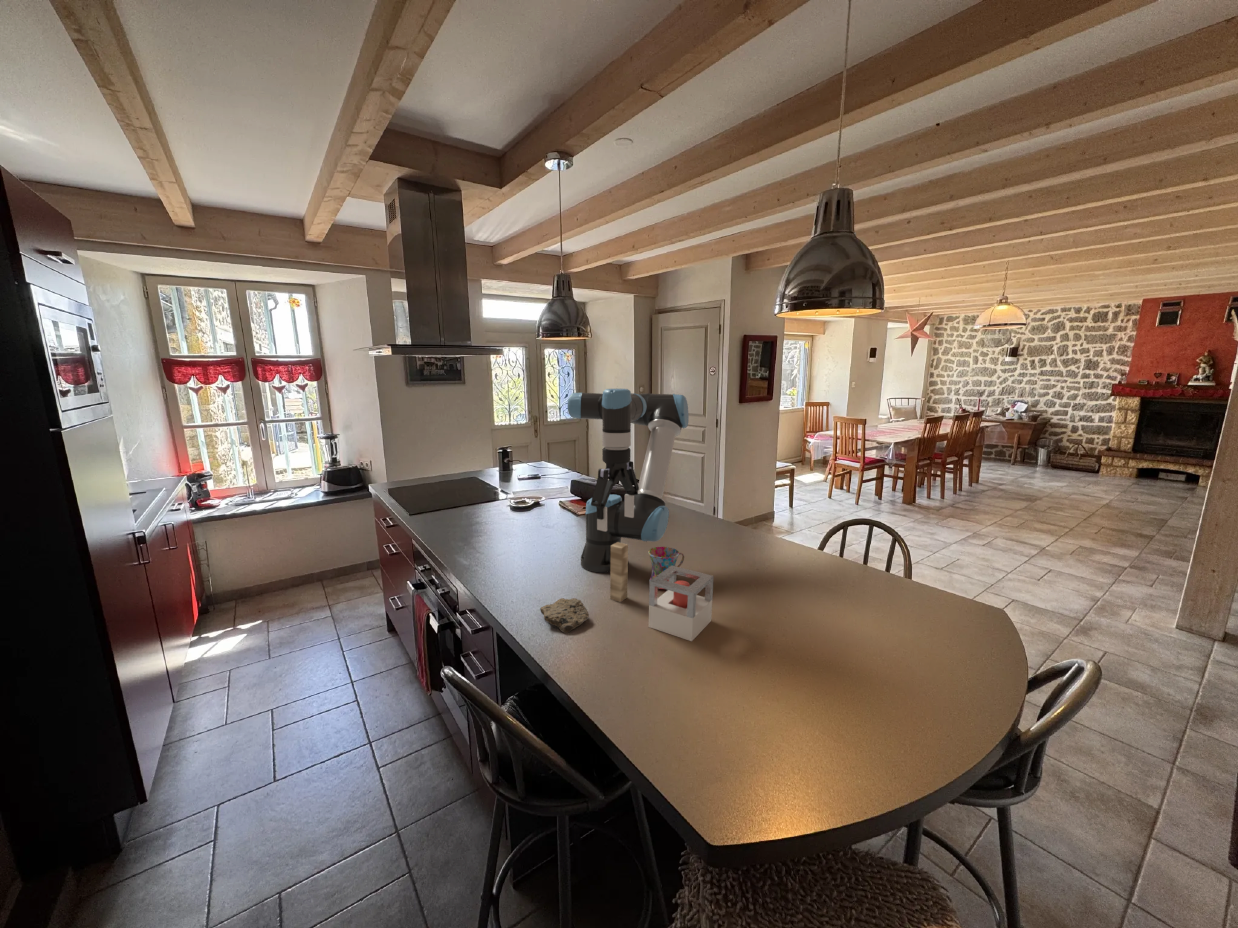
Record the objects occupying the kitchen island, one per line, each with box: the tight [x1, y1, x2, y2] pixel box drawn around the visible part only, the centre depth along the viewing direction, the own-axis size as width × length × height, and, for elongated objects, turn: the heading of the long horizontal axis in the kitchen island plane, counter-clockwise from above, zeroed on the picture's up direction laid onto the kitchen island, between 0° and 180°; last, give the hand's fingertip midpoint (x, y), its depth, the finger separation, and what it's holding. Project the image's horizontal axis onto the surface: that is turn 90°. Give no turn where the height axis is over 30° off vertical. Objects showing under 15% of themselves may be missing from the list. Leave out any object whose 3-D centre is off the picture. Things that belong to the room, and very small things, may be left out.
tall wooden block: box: [609, 542, 629, 603], centre depth 139 cm, size 4×4×16 cm
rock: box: [539, 597, 590, 634], centre depth 127 cm, size 11×12×4 cm
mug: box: [647, 546, 685, 590], centre depth 149 cm, size 12×9×11 cm
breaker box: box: [648, 590, 713, 642], centre depth 126 cm, size 12×12×6 cm
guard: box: [648, 565, 714, 618], centre depth 125 cm, size 12×12×6 cm
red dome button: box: [673, 580, 691, 609], centre depth 125 cm, size 4×4×8 cm
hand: (616, 523), depth 135 cm, fingers open, 13 cm apart
